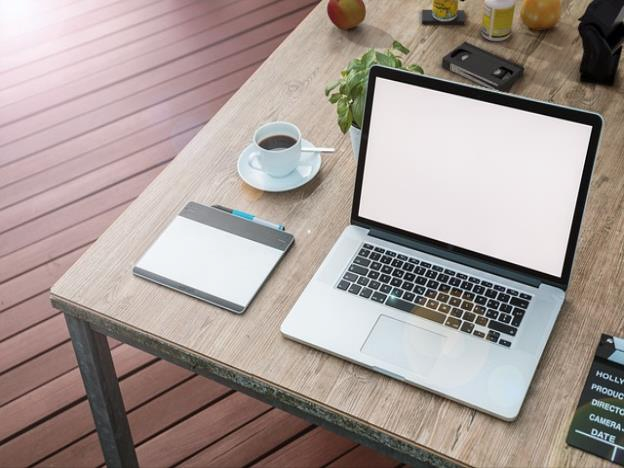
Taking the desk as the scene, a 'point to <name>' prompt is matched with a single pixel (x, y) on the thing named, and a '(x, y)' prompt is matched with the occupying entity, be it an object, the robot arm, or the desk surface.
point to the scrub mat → (429, 19)
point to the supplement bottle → (445, 9)
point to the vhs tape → (482, 67)
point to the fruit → (540, 13)
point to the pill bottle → (497, 19)
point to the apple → (346, 13)
